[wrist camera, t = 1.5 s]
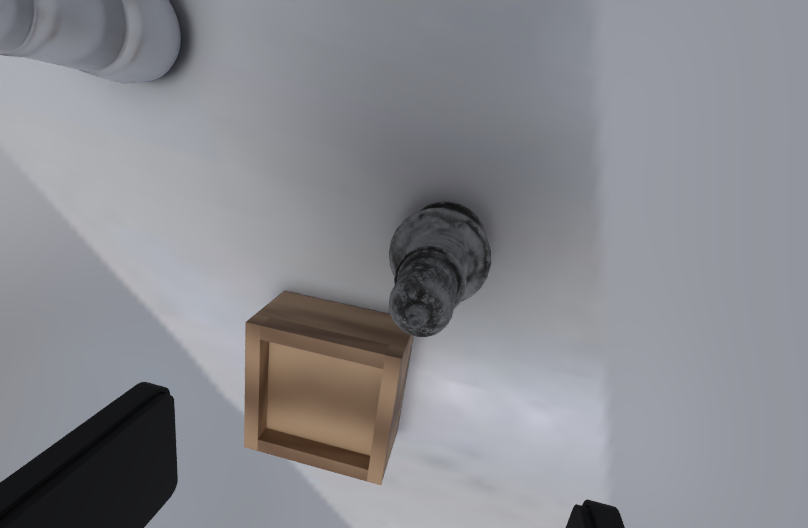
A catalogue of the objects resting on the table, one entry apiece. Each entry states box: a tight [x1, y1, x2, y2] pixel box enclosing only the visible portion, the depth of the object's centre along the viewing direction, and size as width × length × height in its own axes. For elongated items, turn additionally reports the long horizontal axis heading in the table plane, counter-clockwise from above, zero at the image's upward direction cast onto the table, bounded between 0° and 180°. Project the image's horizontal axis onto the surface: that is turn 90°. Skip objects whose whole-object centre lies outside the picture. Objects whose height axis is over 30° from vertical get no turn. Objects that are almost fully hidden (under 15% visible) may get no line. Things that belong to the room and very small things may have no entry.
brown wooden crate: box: [244, 291, 413, 485], centre depth 29 cm, size 10×10×5 cm
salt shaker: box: [389, 202, 491, 337], centre depth 22 cm, size 6×6×12 cm
